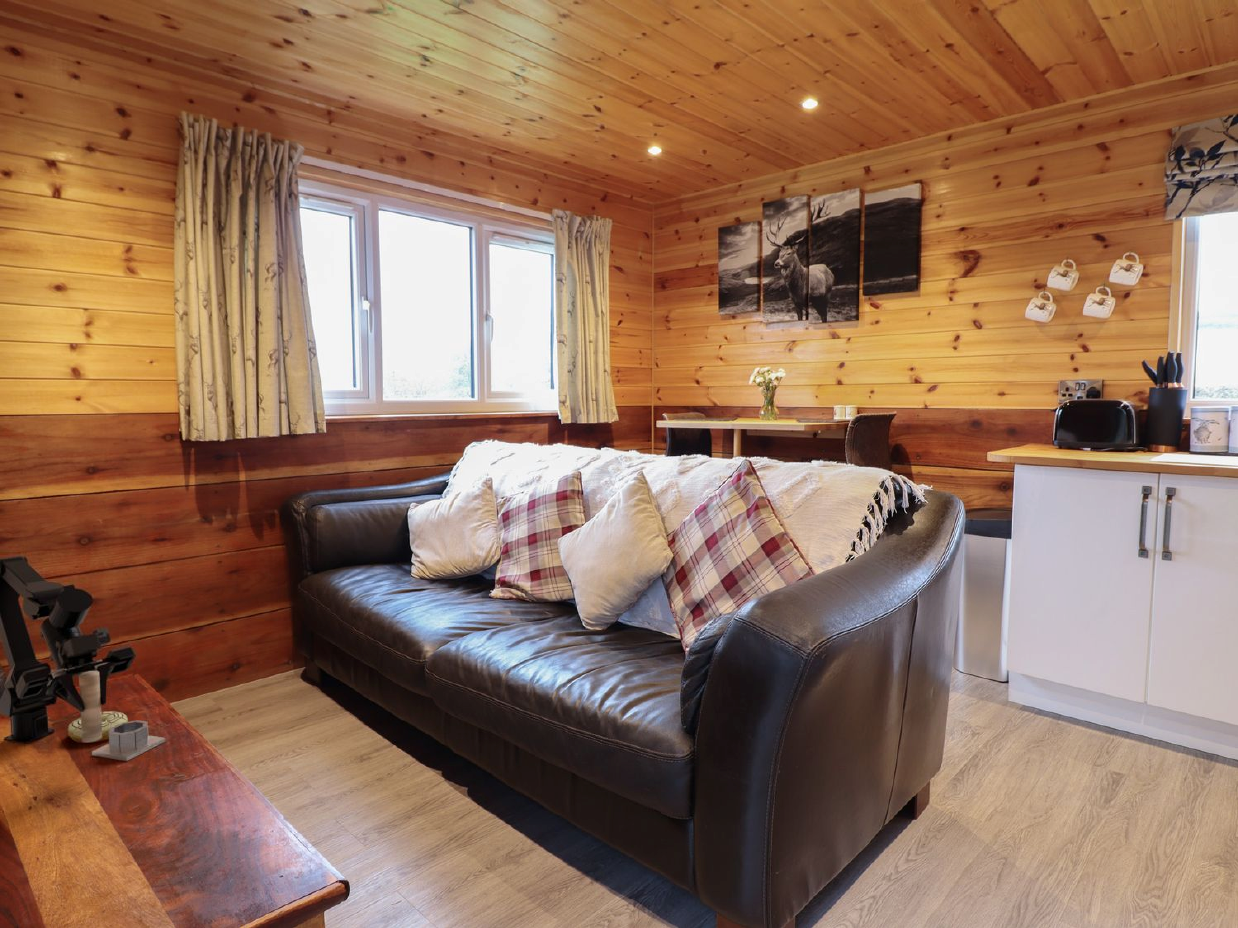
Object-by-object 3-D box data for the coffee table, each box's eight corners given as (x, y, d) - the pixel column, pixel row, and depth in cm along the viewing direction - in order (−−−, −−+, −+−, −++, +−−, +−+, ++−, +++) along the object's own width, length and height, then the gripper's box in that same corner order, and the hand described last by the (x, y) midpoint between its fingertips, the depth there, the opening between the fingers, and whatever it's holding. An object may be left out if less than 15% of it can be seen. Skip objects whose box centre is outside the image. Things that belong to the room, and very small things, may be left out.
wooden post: (77, 741, 141) (74, 675, 140) (93, 734, 144) (90, 669, 143) (90, 743, 140) (87, 677, 139) (106, 736, 143) (103, 671, 142)
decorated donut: (87, 750, 152) (86, 732, 152) (57, 739, 157) (56, 722, 156) (138, 729, 162) (137, 713, 161) (108, 720, 166) (107, 704, 166)
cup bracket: (92, 755, 149) (91, 733, 149) (131, 736, 158) (131, 716, 158) (126, 760, 147) (126, 739, 147) (165, 741, 156) (164, 720, 155)
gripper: (18, 629, 134) (47, 701, 129) (129, 607, 150) (159, 669, 145) (3, 663, 139) (31, 733, 134) (113, 637, 155) (141, 699, 150)
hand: (93, 707), depth 140 cm, fingers closed on wooden post, 3 cm apart
